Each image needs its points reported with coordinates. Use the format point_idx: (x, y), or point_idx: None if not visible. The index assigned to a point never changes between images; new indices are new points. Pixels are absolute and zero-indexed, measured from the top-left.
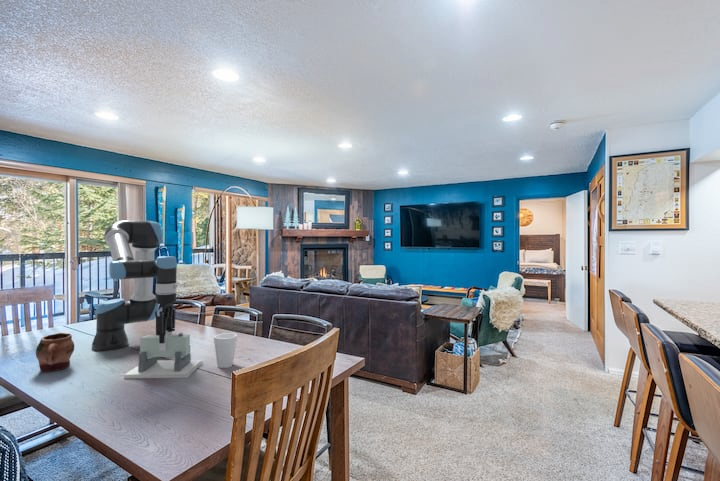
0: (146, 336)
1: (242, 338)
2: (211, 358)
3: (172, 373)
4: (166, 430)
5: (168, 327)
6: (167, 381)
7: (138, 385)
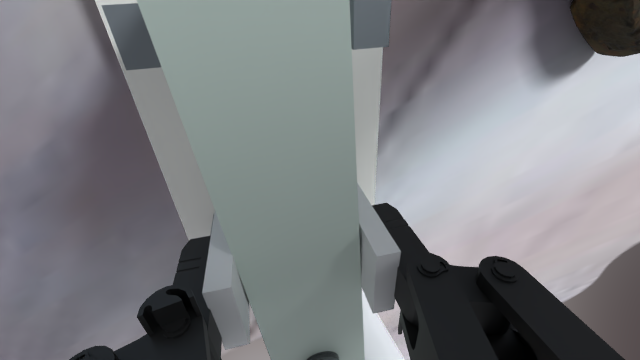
0: (257, 7)
1: (635, 218)
2: (421, 230)
3: (189, 219)
4: None
5: (418, 337)
6: (139, 216)
7: (26, 112)
